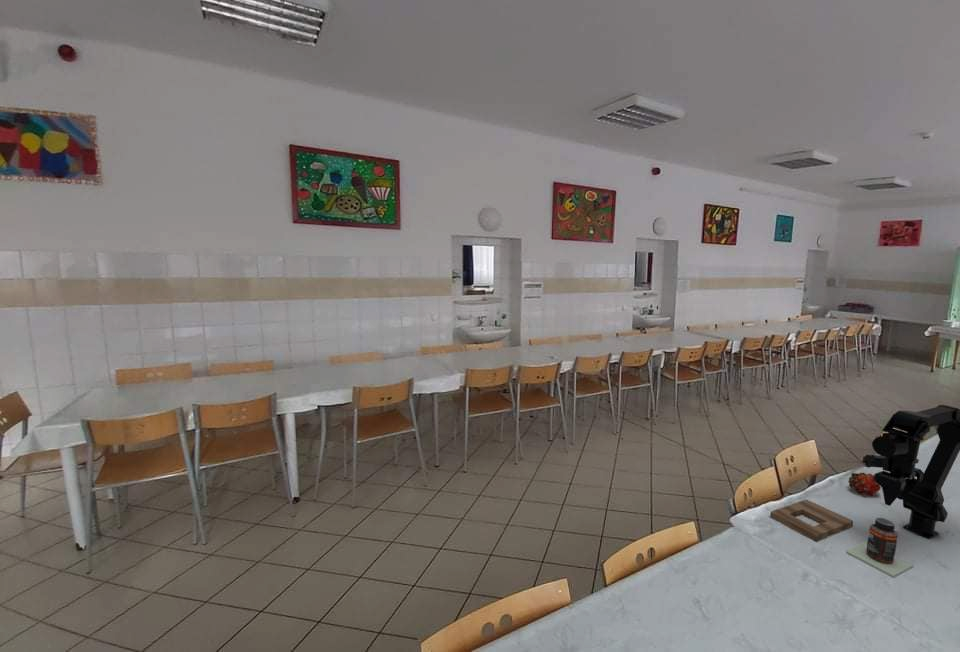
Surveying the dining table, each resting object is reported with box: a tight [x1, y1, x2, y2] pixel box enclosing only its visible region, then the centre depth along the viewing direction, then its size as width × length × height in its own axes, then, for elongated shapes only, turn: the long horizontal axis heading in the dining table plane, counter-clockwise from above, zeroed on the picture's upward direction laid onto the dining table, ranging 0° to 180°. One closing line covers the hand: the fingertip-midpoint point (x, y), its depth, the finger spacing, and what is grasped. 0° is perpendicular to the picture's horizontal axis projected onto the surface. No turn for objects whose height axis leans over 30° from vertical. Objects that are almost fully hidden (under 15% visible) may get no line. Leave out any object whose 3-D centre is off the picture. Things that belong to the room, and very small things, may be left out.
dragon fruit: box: [847, 472, 882, 497], centre depth 160 cm, size 8×8×12 cm
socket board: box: [769, 499, 854, 543], centre depth 142 cm, size 20×14×2 cm
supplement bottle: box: [866, 517, 899, 563], centre depth 123 cm, size 6×6×11 cm
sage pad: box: [845, 541, 915, 578], centre depth 124 cm, size 11×11×1 cm
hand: (893, 501), depth 131 cm, fingers open, 9 cm apart
